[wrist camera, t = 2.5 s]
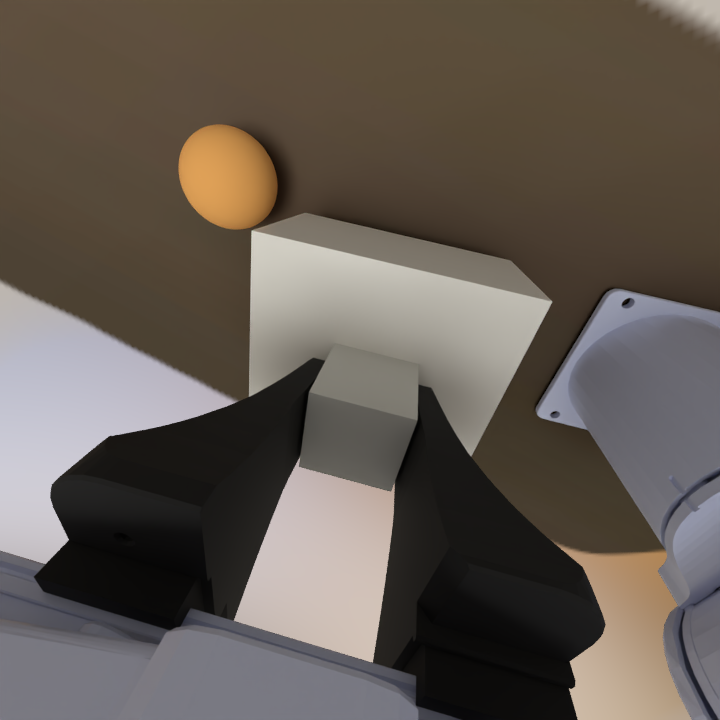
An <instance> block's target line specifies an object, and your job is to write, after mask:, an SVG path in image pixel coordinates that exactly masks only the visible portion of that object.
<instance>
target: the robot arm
mask: <svg viewBox="0 0 720 720" xmlns="http://www.w3.org/2000/svg"><path fill="white" fill-rule="evenodd" d="M627 298H630V301H629V303H628V304H626V305H624V306H622V302H623V301H624V300H625V299H627ZM324 363H325V360H321V359H317V358H312V359H310V360H308V361H307V362H306V363H304V364H303V365H301V366H300V367H298V368H297V369H295V370H294V371H292V372H291V373H290V374H288V375H286V376H285V377H283V378H282V379H280V380H278V381H277V382H275V383H274V384H272V385H270V386H268V387H266V388H265V389H263V390H261V391H259V392H257V393H256V394H254V395H252V396H250V397H248V398H245V399H243V400H241V401H239V402H236V403H234V404H232V405H229V406H227V407H224V408H221V409H218V410H216V411H212V412H210V413H207V414H204V415H201V416H198V417H195V418H191V419H188V420H185V421H181V422H177V423H173V424H169V425H165V426H161V427H156V428H152V429H147V430H142V431H137V432H131V433H126V434H121V435H115V436H109V437H108V438H106V439H105V440H104V441H103V442H101V443H100V444H99V445H98V446H96V447H95V448H94V449H93V450H91V451H90V452H89V453H88V454H87V455H85V456H84V457H83V458H82V459H81V460H79V461H78V462H77V463H76V464H75V465H73V466H72V467H71V468H70V469H69V470H68V471H66V472H65V473H64V474H63V475H62V476H60V477H59V478H58V479H57V480H56V481H55V482H54V483H53V484H52V487H51V497H50V498H51V501H52V504H53V508H54V510H55V512H56V514H57V516H58V518H59V520H60V522H61V524H62V526H63V528H64V530H65V532H66V534H67V536H68V539H69V541H68V542H67V543H66V544H65V545H64V546H63V547H62V548H61V549H60V550H59V551H58V552H57V553H56V554H55V555H54V556H53V557H52V558H51V559H50V561H48V562H47V564H43V563H39V562H36V561H33V560H29V559H26V558H23V557H19V556H16V555H13V554H9V553H6V552H3V551H0V720H577V716H576V712H575V709H574V705H573V702H572V698H571V695H570V691H569V688H570V689H572V688H573V687H575V678H574V675H573V672H572V668H571V665H570V662H569V661H571V660H572V659H574V658H575V657H576V656H578V655H579V654H581V653H582V652H583V651H585V650H586V649H588V648H589V647H591V646H592V645H593V644H594V643H595V642H596V641H597V640H598V639H599V638H600V637H601V635H602V634H603V631H604V628H605V621H604V618H603V615H602V612H601V610H600V607H599V604H598V602H597V600H596V597H595V595H594V592H593V589H592V587H591V585H590V582H589V580H588V578H587V575H586V573H585V571H584V569H583V567H582V566H581V565H579V564H578V563H577V562H576V561H575V560H573V559H572V558H571V557H570V556H569V555H567V554H566V553H565V552H564V551H563V550H561V549H560V548H559V547H558V546H557V545H555V544H554V543H553V542H552V541H551V540H549V539H548V538H547V537H546V536H545V535H544V534H542V533H541V532H540V531H539V530H538V529H537V528H536V527H535V526H534V525H533V524H532V523H531V522H530V521H528V520H527V519H526V518H525V517H524V516H523V515H522V514H521V513H520V512H519V511H518V510H517V509H516V508H515V507H514V506H513V505H512V504H511V503H510V502H509V501H508V500H507V499H506V498H505V497H504V495H503V494H502V493H501V492H500V491H499V490H498V489H497V488H496V487H495V486H494V485H493V483H492V482H491V481H490V480H489V479H488V478H487V476H486V475H485V474H484V473H483V471H482V470H481V469H480V468H479V466H478V465H477V464H476V463H475V461H474V460H473V459H472V457H471V456H470V455H469V453H468V452H467V450H466V449H465V447H464V446H463V444H462V443H461V441H460V440H459V438H458V437H457V435H456V433H455V432H454V430H453V428H452V426H451V425H450V423H449V421H448V419H447V417H446V416H445V414H444V412H443V410H442V408H441V406H440V404H439V402H438V400H437V398H436V396H435V394H434V392H433V390H432V388H431V387H427V386H423V385H419V384H418V420H417V423H416V426H415V428H414V431H413V434H412V437H411V439H410V442H409V445H408V447H407V450H406V453H405V455H404V458H403V461H402V463H401V466H400V469H399V471H398V474H397V477H396V479H395V498H394V518H393V528H392V536H391V544H390V552H389V560H388V567H387V574H386V582H385V588H384V595H383V602H382V609H381V615H380V622H379V628H378V634H377V640H376V647H375V653H374V659H373V663H372V662H368V661H364V660H362V659H358V658H355V657H352V656H348V655H345V654H341V653H338V652H335V651H332V650H328V649H325V648H322V647H318V646H315V645H312V644H308V643H305V642H302V641H298V640H295V639H291V638H288V637H285V636H281V635H279V634H275V633H272V632H268V631H265V630H262V629H259V628H255V627H252V626H248V625H245V624H242V623H239V622H235V621H234V618H235V615H236V613H237V610H238V607H239V604H240V601H241V599H242V596H243V593H244V590H245V588H246V585H247V582H248V579H249V577H250V574H251V571H252V569H253V566H254V563H255V560H256V558H257V555H258V553H259V550H260V547H261V545H262V542H263V540H264V537H265V534H266V532H267V529H268V527H269V524H270V521H271V519H272V516H273V513H274V511H275V509H276V506H277V504H278V501H279V499H280V496H281V494H282V491H283V489H284V487H285V485H286V483H287V480H288V478H289V477H290V475H291V473H292V471H293V469H294V467H295V465H296V463H297V461H298V459H299V457H300V455H301V448H302V441H303V433H304V426H305V419H306V411H307V404H308V396H309V391H310V389H311V388H312V386H313V384H314V382H315V380H316V378H317V376H318V374H319V372H320V370H321V368H322V367H323V365H324ZM535 410H536V413H537V415H538V416H539V417H540V418H543V419H546V420H550V421H554V422H558V423H562V424H566V425H570V426H574V427H578V428H582V429H586V430H588V431H589V432H590V434H591V435H592V437H593V438H594V440H595V442H596V443H597V445H598V446H599V448H600V449H601V451H602V452H603V454H604V455H605V457H606V459H607V460H608V462H609V463H610V465H611V466H612V468H613V469H614V471H615V472H616V474H617V476H618V477H619V479H620V480H621V482H622V483H623V485H624V486H625V488H626V490H627V491H628V493H629V494H630V496H631V497H632V499H633V500H634V502H635V503H636V505H637V507H638V508H639V510H640V511H641V513H642V514H643V516H644V517H645V519H646V520H647V522H648V524H649V525H650V527H651V528H652V530H653V531H654V533H655V534H656V536H657V537H658V539H659V541H660V542H661V544H662V545H663V547H664V548H665V550H666V551H667V559H666V561H665V563H664V564H663V565H662V567H660V568H659V570H658V572H659V574H660V576H661V578H662V579H663V581H664V583H665V584H666V586H667V588H668V589H669V591H670V593H671V594H672V596H673V598H674V599H675V601H676V603H677V605H678V606H677V607H676V608H675V609H674V610H673V611H671V612H670V614H669V616H668V618H667V620H666V622H665V624H664V633H663V641H664V651H665V656H666V659H667V663H668V667H669V670H670V673H671V676H672V678H673V681H674V683H675V686H676V688H677V690H678V693H679V695H680V697H681V699H682V701H683V703H684V705H685V707H686V709H687V711H688V713H689V715H690V717H691V719H692V720H720V312H718V311H714V310H710V309H705V308H701V307H697V306H692V305H688V304H684V303H679V302H675V301H671V300H666V299H662V298H658V297H654V296H649V295H645V294H641V293H636V292H632V291H628V290H623V289H616V288H615V289H612V290H610V291H608V292H607V293H606V294H605V295H604V296H603V298H602V299H601V301H600V303H599V304H598V306H597V307H596V309H595V311H594V312H593V314H592V316H591V317H590V319H589V321H588V322H587V324H586V326H585V327H584V329H583V331H582V332H581V334H580V336H579V337H578V339H577V340H576V342H575V344H574V345H573V347H572V349H571V350H570V352H569V354H568V355H567V357H566V359H565V360H564V362H563V364H562V365H561V367H560V369H559V370H558V372H557V373H556V375H555V377H554V378H553V380H552V382H551V383H550V385H549V387H548V388H547V390H546V392H545V393H544V395H543V397H542V398H541V400H540V401H539V403H538V405H537V406H536V409H535ZM554 411H557V412H556V413H555V414H551V413H552V412H554Z"/></svg>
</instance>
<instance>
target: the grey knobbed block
mask: <svg viewBox="0 0 720 720" xmlns="http://www.w3.org/2000/svg"><path fill="white" fill-rule="evenodd" d="M551 304H552V301H551V300H550V299H549V298H548V297H547V296H546V295H545V294H544V293H543V292H542V291H541V290H540V289H539V288H538V287H537V286H536V285H535V284H534V283H533V282H532V281H531V280H530V279H529V278H528V277H527V276H526V275H525V274H524V273H523V272H522V271H521V270H520V269H519V268H518V267H517V266H516V265H515V264H514V263H513V262H512V261H511V260H506V259H502V258H498V257H494V256H489V255H485V254H481V253H476V252H472V251H468V250H463V249H459V248H455V247H451V246H446V245H442V244H438V243H433V242H429V241H425V240H420V239H416V238H412V237H408V236H403V235H399V234H395V233H390V232H386V231H382V230H377V229H373V228H369V227H365V226H360V225H356V224H352V223H347V222H343V221H339V220H334V219H330V218H326V217H322V216H317V215H313V214H309V213H303V214H300V215H297V216H294V217H291V218H288V219H285V220H282V221H279V222H276V223H273V224H270V225H267V226H264V227H260V228H257V229H254V230H252V240H251V303H250V365H249V397H250V396H252V395H254V394H256V393H257V392H259V391H261V390H263V389H265V388H266V387H268V386H270V385H272V384H274V383H275V382H277V381H278V380H280V379H282V378H283V377H285V376H286V375H288V374H290V373H291V372H292V371H294V370H295V369H297V368H298V367H300V366H301V365H303V364H304V363H306V362H307V361H308V360H310V359H312V358H317V359H321V360H325V363H324V365H323V367H322V368H321V370H320V372H319V374H318V376H317V378H316V380H315V382H314V384H313V386H312V388H311V389H310V391H309V396H308V404H307V411H306V419H305V426H304V433H303V441H302V448H301V455H300V457H299V458H300V463H299V467H302V468H306V469H310V470H313V471H317V472H321V473H324V474H328V475H332V476H336V477H339V478H343V479H346V480H350V481H354V482H358V483H361V484H365V485H368V486H372V487H376V488H380V489H383V490H387V491H391V490H392V487H393V485H394V483H395V479H396V477H397V474H398V471H399V469H400V466H401V463H402V461H403V458H404V455H405V453H406V450H407V447H408V445H409V442H410V439H411V437H412V434H413V431H414V428H415V426H416V423H417V420H418V384H419V385H423V386H427V387H431V388H432V390H433V392H434V394H435V396H436V398H437V400H438V402H439V404H440V406H441V408H442V410H443V412H444V414H445V416H446V417H447V419H448V421H449V423H450V425H451V426H452V428H453V430H454V432H455V433H456V435H457V437H458V438H459V440H460V441H461V443H462V444H463V446H464V447H465V449H466V450H467V452H468V453H469V455H470V456H472V454H473V452H474V450H475V448H476V446H477V444H478V442H479V441H480V439H481V437H482V435H483V433H484V431H485V429H486V427H487V425H488V423H489V421H490V420H491V418H492V416H493V414H494V412H495V410H496V408H497V406H498V404H499V402H500V401H501V399H502V397H503V395H504V393H505V391H506V389H507V387H508V385H509V383H510V382H511V380H512V378H513V376H514V374H515V372H516V370H517V368H518V366H519V364H520V363H521V361H522V359H523V357H524V355H525V353H526V351H527V349H528V347H529V345H530V343H531V342H532V340H533V338H534V336H535V334H536V332H537V330H538V328H539V326H540V324H541V323H542V321H543V319H544V317H545V315H546V313H547V311H548V309H549V307H550V305H551Z"/></svg>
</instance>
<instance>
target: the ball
mask: <svg viewBox="0 0 720 720" xmlns="http://www.w3.org/2000/svg"><path fill="white" fill-rule="evenodd" d="M179 177H180V182H181V185H182V188H183V191H184V193H185V195H186V197H187V199H188V200H189V202H190V203H191V205H192V206H193V207H194V209H195V210H196V211H197V212H198V213H199V214H200V215H202V216H203V217H204V218H205V219H207V220H208V221H210V222H211V223H213V224H215V225H218V226H220V227H223V228H227V229H236V230H239V229H247V228H250V227H253V226H255V225H257V224H259V223H260V222H261V221H263V220H264V219H265V218H266V217H267V216H268V214H269V213H270V212H271V210H272V208H273V206H274V203H275V201H276V197H277V189H278V183H277V176H276V171H275V168H274V165H273V163H272V161H271V159H270V157H269V155H268V154H267V152H266V150H265V149H264V148H263V146H262V145H261V144H260V143H259V142H258V141H257V140H256V139H254V138H253V137H252V136H251V135H249V134H248V133H246V132H245V131H243V130H240V129H238V128H236V127H233V126H229V125H211V126H206V127H204V128H201V129H199V130H198V131H196V132H195V133H193V134H192V135H191V136H190V137H189V139H188V140H187V141H186V143H185V144H184V146H183V148H182V151H181V154H180V158H179Z"/></svg>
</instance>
